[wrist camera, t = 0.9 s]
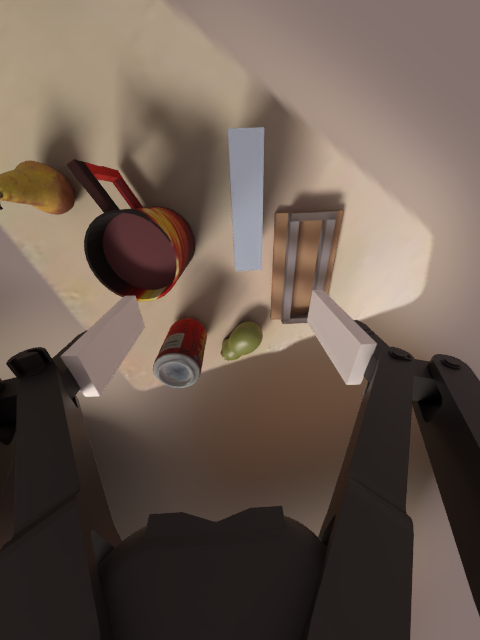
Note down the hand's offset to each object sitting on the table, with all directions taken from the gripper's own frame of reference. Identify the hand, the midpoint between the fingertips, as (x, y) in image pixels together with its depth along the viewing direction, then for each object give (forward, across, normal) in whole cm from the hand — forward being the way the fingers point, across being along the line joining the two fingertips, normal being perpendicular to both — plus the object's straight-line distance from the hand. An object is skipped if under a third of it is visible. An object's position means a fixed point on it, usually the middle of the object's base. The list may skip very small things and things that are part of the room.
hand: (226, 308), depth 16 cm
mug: (+21, -12, +3) cm, 24 cm away
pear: (+21, +2, -17) cm, 27 cm away
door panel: (+21, +2, +6) cm, 22 cm away
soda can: (+21, -8, -15) cm, 27 cm away
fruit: (+21, -23, +8) cm, 32 cm away
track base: (+20, +12, -4) cm, 24 cm away
